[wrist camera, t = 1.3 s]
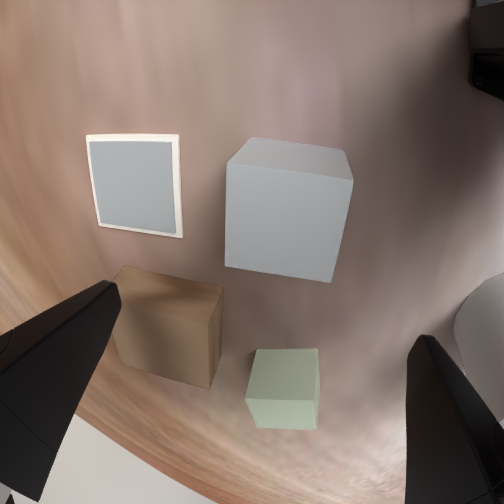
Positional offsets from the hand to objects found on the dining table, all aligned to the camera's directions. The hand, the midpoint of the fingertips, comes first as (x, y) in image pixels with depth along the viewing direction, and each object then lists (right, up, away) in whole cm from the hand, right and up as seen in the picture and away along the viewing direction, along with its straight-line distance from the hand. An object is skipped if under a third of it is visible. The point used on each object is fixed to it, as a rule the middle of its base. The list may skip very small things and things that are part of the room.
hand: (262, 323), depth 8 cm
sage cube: (+3, -8, +17) cm, 19 cm away
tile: (-8, +6, +11) cm, 15 cm away
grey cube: (+2, +6, +9) cm, 11 cm away
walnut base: (-6, -3, +17) cm, 18 cm away
